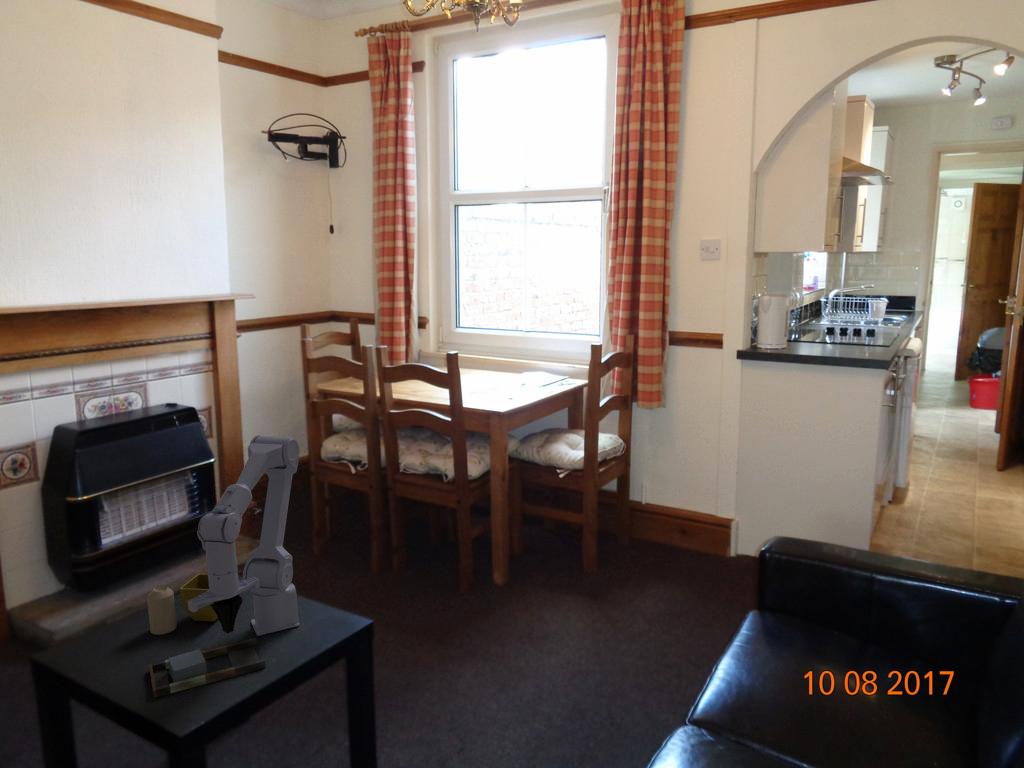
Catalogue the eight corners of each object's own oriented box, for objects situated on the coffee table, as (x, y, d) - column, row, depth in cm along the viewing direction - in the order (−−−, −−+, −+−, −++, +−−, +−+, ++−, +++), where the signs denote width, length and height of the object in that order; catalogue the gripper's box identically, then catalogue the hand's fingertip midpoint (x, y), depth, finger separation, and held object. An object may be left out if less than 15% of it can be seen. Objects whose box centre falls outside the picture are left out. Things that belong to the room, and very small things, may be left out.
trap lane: (255, 644, 163) (254, 637, 163) (265, 667, 153) (264, 661, 153) (149, 671, 153) (149, 664, 153) (153, 697, 143) (153, 690, 143)
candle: (166, 636, 167) (162, 594, 165) (145, 633, 168) (140, 592, 166) (181, 624, 172) (178, 584, 171) (161, 622, 173) (157, 582, 172)
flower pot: (201, 607, 181) (198, 572, 179) (235, 608, 180) (232, 573, 178) (182, 625, 172) (178, 588, 170) (217, 626, 171) (214, 590, 170)
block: (200, 664, 155) (199, 649, 155) (207, 677, 151) (205, 661, 150) (169, 673, 152) (168, 658, 152) (175, 687, 147) (174, 671, 147)
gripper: (245, 553, 160) (250, 612, 162) (178, 575, 149) (185, 638, 151) (262, 562, 155) (267, 622, 157) (194, 585, 144) (201, 649, 147)
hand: (228, 630), depth 154 cm, fingers closed
